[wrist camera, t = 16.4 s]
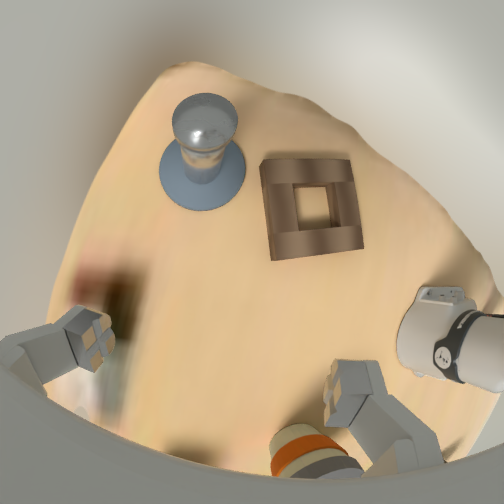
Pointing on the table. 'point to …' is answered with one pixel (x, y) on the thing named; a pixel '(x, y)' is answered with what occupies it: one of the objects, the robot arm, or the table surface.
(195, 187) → the slate rubber mat
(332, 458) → the reusable coffee cup
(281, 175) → the walnut socket block
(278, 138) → the table surface
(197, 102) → the steel plug
